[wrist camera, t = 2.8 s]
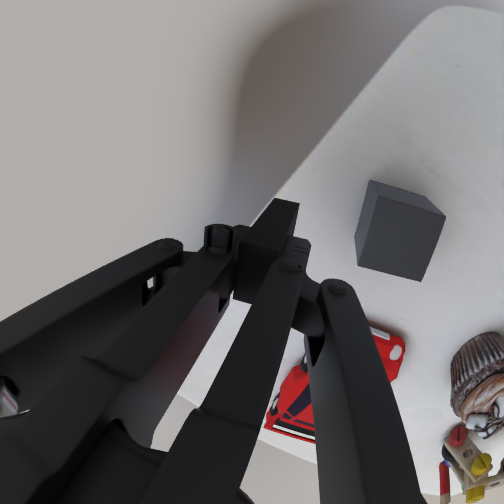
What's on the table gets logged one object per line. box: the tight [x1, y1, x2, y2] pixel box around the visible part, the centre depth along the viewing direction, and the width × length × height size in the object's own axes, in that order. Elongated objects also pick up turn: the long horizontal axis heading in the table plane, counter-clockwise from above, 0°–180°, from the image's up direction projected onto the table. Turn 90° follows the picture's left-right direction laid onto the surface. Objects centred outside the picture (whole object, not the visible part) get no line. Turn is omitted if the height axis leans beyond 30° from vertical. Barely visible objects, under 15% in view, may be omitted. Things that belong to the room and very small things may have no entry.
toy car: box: [263, 327, 405, 444], centre depth 28 cm, size 10×20×5 cm, turn 166°
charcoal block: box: [354, 180, 446, 282], centre depth 19 cm, size 5×5×5 cm
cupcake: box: [450, 332, 504, 439], centre depth 19 cm, size 10×10×10 cm
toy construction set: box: [439, 426, 504, 504], centre depth 20 cm, size 27×22×21 cm
